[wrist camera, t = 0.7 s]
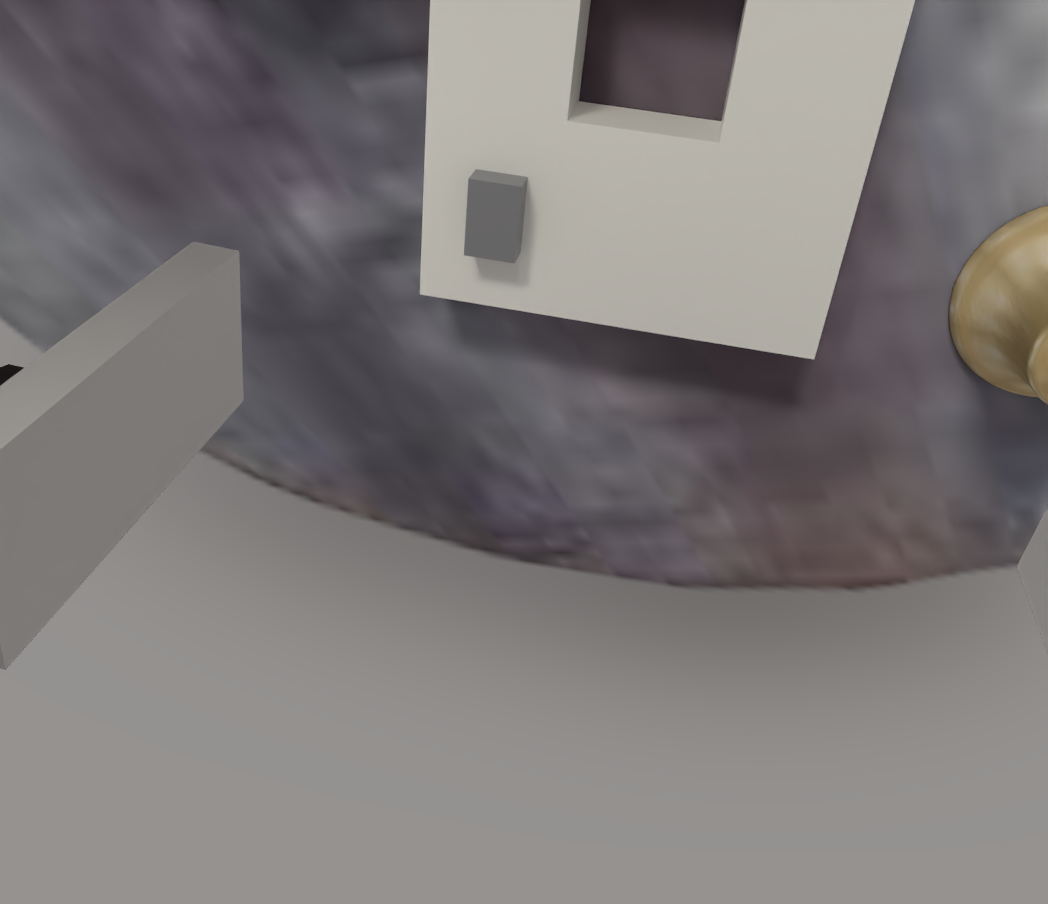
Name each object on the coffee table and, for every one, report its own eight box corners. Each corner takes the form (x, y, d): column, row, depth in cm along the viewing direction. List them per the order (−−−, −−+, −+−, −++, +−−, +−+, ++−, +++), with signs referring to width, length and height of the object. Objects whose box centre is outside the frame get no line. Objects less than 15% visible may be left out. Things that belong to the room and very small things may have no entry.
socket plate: (468, -386, 32) (433, -411, 28) (992, -339, 30) (1024, -360, 26) (438, 266, 44) (411, 306, 40) (810, 327, 42) (815, 373, 38)
